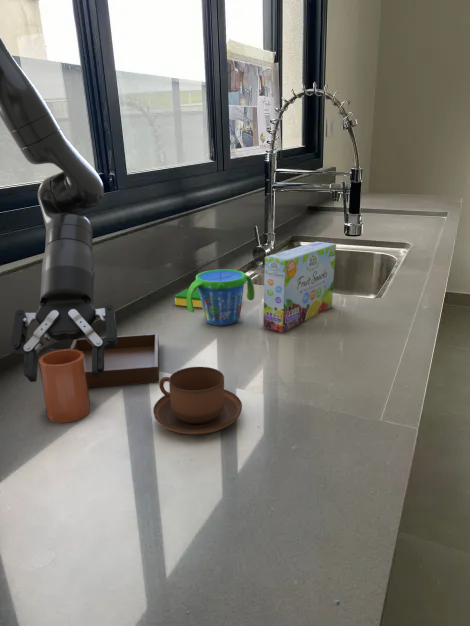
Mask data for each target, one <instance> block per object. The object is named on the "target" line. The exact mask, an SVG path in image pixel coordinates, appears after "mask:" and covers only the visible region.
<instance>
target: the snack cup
mask: <svg viewBox="0 0 470 626" xmlns="http://www.w3.org/2000/svg"><path fill="white" fill-rule="evenodd" d="M245 284H246V286H247V291H246V298H247V300H249V301H253V300H254V299H255V296H256V295H255V292H256V291H255V286H254V282H253V279H252V278H251V277H250V276H249V275H248V274H246V273H245V272H244V271H241V270H238V269H227V268H225V269H222V268H220V269H211V270H205V271H202V272H199V273H197V274H196V275H195V280H193V282H192V283H191V284H190V286H189V287H188V288H189V290H188V293H187V300H186V302H187V306H186V308H187V310H188V311H189V313H192V314H193V313H195V307H193V303H192V294H193V292H194V291H195V289H199V292H200V298H201V303H202V308H201V309H202V312H203V318H204V320H205V321H206V323H207V324H210V325H214V326H228V325H229V326H230V325H233V324H235V323H238V322H239V320H240V318H241V314H242V313H241V312H242V304H243V296H244V286H245Z"/></svg>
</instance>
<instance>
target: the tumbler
mask: <svg viewBox="0 0 470 626" xmlns="http://www.w3.org/2000/svg"><path fill="white" fill-rule="evenodd" d="M38 366H39V373H40V378H41V386H42V391H43V398H44V404H45V411H46V415H47V418H48V420H50V421H51V422H53V423H59V424H60V423H61V424H62V423H63V424H65V423H72V422H75V421H76V422H77V421H79V420H81V419H83V418H85V417H87V416H88V414H89V413H90V412H91V400H90V391H89V390H90V389H89V388H88V382H87V374H86V366H85V358H84V353H83V352H82V351H79V350H76V349H70V348H65V349H64V348H63V349H56V350H53V351H52V350H51V351H49V352H48V353H45V354H42V355H41V356H40V357H39V358H38Z"/></svg>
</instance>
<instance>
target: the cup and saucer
mask: <svg viewBox="0 0 470 626" xmlns="http://www.w3.org/2000/svg"><path fill="white" fill-rule="evenodd" d="M166 382H168V386H169V391H167V390H166V389H165V387H164V386H165V385H164V384H165V383H166ZM158 386H159V387H158V388H159V390H160V392H161V393H162V395H163V396H161V397H160V398H159V399H158V400H157V401H156V402H155V403H154V406H153V410H152V411H153V416H154V419H155V420H156V421H157V423H158V424H159V425H160V426H162V427H164V429H167V430H169V431H170V432H174V433H178V434H183V435H206V434H211V433H215V432H219V431H220V430H223V429H225V428H227V427H229V426H230V425H232V424H233V423H234V422H236V420H237V419H238V418H239V417H240V416H241V413H242V409H243V402H242V401H241V399H240V397H239V396H237V395H236V393H233V392H232V391H229V390H228V389H225V375H224V373H222V371H220V370H219V369H217V368H214V367H209V366H190V367H185V368H181V369H179V370H176V371H175V372H173V373H172V374H171V375H170V376H163V377H162V378H161V379H159V382H158Z"/></svg>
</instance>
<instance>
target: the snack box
mask: <svg viewBox="0 0 470 626" xmlns="http://www.w3.org/2000/svg"><path fill="white" fill-rule="evenodd" d="M336 250H337V243H331V242H326V241H325V242H324V241H314V242H310V243H307V244H304V245H300V246H296V247H293V248H291V249H287V250H284V251H280V252H277V253H273V254H270V255H267V256H264V279H263V282H264V283H263V318H262V319H263V320H262V321H263V323H262V324H263V325H262V328H266V329H269V330H271V331H275V332H279V333H285V332H287V331H289V330H290V329H292V328H294V327H297V326H298V325H300V324H302V323H304V322H306V321H308V320H310V319H312V318H314V317H316V316H318V315H320V314H321V313H323V312H326V311H327V310H329V309H331V308H332V307H333V295H334V293H333V292H334V279H335V267H336V253H337V252H336Z"/></svg>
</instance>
